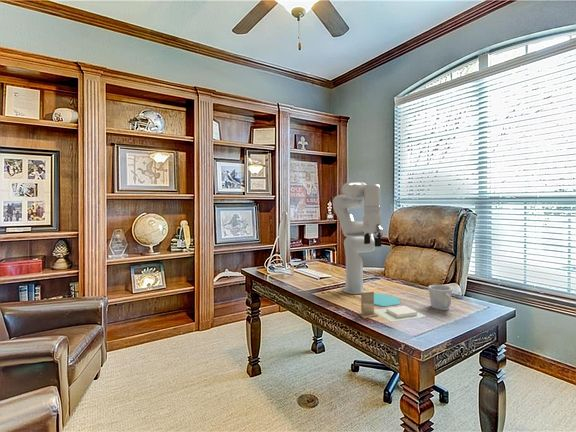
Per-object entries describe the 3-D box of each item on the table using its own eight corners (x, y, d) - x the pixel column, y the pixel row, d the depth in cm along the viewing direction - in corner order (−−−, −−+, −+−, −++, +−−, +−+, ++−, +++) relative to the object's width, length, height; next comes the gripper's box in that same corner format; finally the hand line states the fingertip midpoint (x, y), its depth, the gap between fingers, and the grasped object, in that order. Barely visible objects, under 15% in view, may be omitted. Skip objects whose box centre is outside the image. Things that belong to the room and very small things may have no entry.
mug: (445, 304, 160) (445, 284, 159) (461, 315, 145) (462, 293, 145) (424, 304, 160) (424, 284, 159) (438, 315, 145) (438, 293, 145)
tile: (386, 308, 150) (398, 314, 141) (404, 305, 153) (417, 311, 144) (386, 311, 150) (398, 318, 141) (404, 309, 153) (417, 315, 144)
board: (372, 311, 152) (372, 310, 152) (404, 306, 157) (404, 305, 157) (390, 322, 138) (390, 321, 138) (426, 317, 143) (426, 316, 143)
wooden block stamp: (357, 315, 148) (357, 290, 147) (370, 313, 150) (370, 289, 149) (364, 319, 142) (363, 294, 142) (378, 317, 144) (378, 292, 144)
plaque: (406, 303, 167) (370, 294, 179) (406, 299, 166) (370, 291, 179) (393, 312, 153) (355, 302, 166) (393, 308, 153) (355, 298, 166)
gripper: (356, 209, 164) (356, 243, 164) (375, 210, 147) (375, 248, 148) (369, 209, 166) (369, 242, 167) (389, 210, 149) (389, 247, 150)
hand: (372, 245), depth 157 cm, fingers open, 9 cm apart
